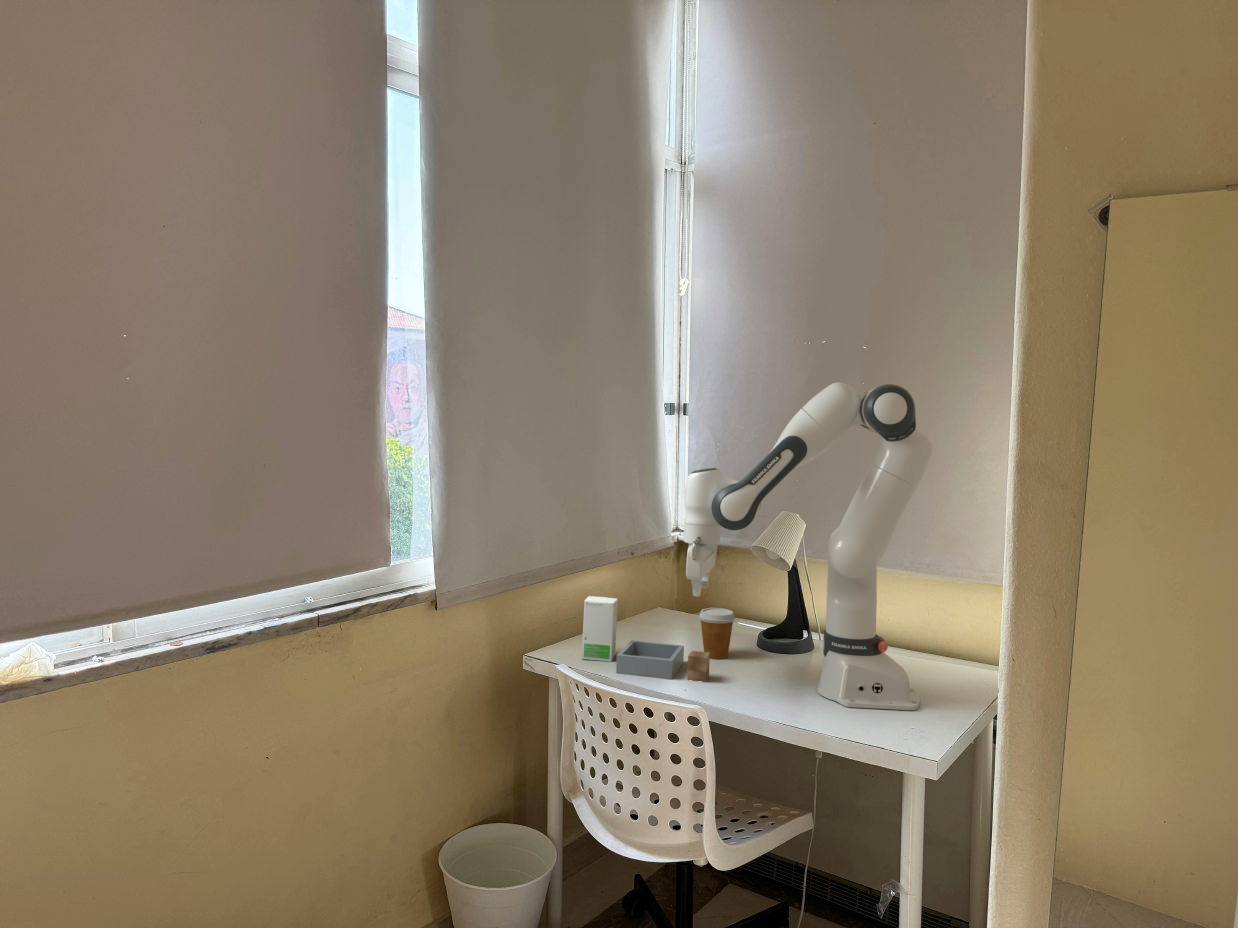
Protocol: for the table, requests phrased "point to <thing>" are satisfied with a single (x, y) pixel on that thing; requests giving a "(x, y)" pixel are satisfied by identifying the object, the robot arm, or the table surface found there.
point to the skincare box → (599, 628)
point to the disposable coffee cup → (716, 631)
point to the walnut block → (698, 666)
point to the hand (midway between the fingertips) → (700, 591)
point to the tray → (650, 659)
